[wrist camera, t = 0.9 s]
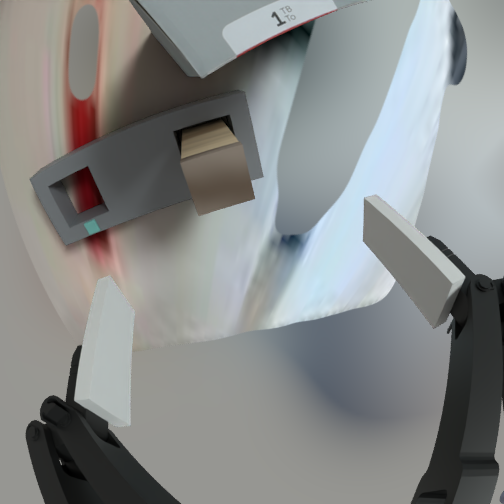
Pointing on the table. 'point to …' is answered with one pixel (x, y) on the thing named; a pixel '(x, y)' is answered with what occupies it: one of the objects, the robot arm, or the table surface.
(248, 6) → the hard drive box
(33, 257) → the table surface
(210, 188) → the plug
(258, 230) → the table surface
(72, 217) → the socket strip
